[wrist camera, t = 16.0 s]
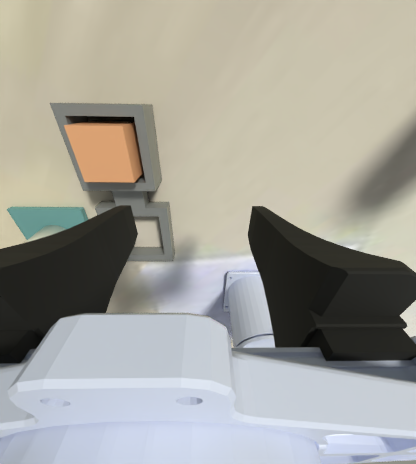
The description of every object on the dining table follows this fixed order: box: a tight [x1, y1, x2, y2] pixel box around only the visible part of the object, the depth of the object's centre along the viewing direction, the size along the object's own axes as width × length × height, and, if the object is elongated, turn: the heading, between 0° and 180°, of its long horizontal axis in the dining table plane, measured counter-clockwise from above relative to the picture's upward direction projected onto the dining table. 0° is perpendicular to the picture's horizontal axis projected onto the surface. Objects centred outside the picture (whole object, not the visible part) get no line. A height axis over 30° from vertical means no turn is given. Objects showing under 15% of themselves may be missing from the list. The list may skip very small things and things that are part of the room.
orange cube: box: [64, 121, 144, 183], centre depth 16 cm, size 4×4×4 cm
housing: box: [50, 103, 175, 261], centre depth 19 cm, size 16×8×3 cm, turn 179°
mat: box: [7, 207, 88, 240], centre depth 23 cm, size 8×8×1 cm
